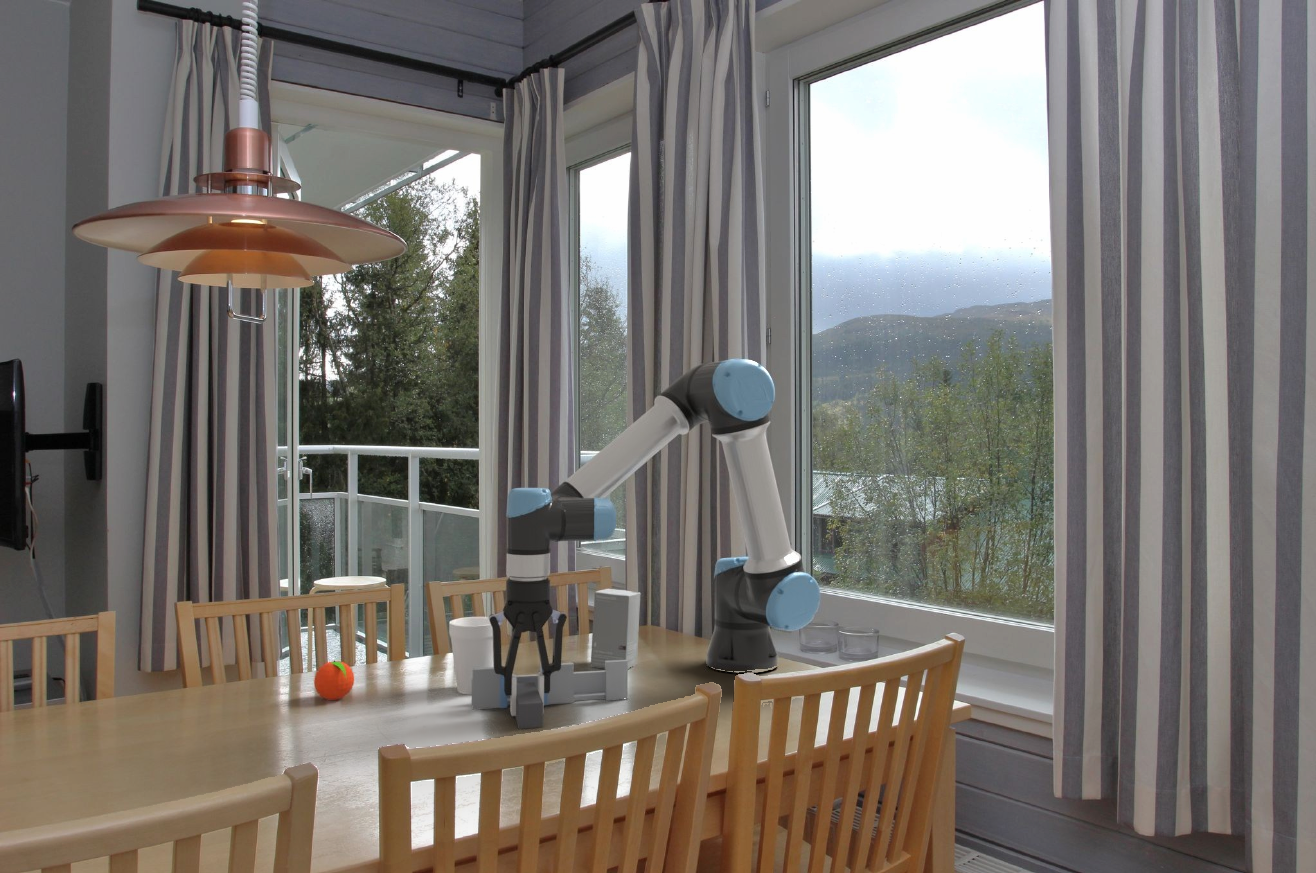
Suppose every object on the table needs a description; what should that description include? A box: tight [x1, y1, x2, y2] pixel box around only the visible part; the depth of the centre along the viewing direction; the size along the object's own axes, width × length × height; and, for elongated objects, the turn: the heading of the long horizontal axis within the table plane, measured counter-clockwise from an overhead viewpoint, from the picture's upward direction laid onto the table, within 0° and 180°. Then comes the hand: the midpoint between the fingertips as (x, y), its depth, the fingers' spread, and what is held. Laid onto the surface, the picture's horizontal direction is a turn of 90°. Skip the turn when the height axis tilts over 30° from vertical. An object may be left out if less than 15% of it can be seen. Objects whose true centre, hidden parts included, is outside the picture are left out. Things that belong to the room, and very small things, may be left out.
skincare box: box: [590, 588, 642, 670], centre depth 198 cm, size 8×7×16 cm
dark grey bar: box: [514, 682, 544, 729], centre depth 162 cm, size 4×14×4 cm, turn 13°
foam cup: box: [448, 616, 494, 695], centre depth 179 cm, size 10×9×13 cm
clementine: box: [313, 659, 355, 701], centre depth 172 cm, size 8×7×7 cm
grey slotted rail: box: [470, 660, 629, 710], centre depth 171 cm, size 28×5×7 cm, turn 104°
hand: (526, 712), depth 162 cm, fingers closed on dark grey bar, 4 cm apart
